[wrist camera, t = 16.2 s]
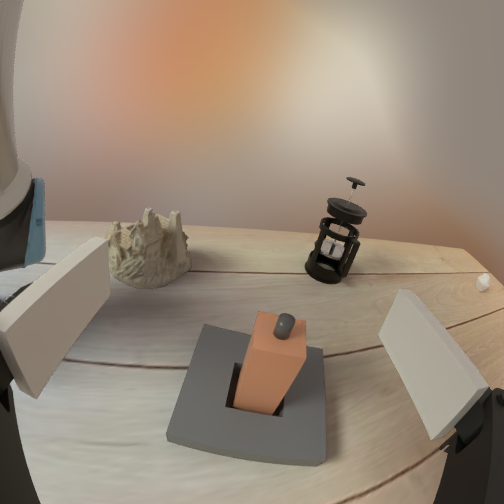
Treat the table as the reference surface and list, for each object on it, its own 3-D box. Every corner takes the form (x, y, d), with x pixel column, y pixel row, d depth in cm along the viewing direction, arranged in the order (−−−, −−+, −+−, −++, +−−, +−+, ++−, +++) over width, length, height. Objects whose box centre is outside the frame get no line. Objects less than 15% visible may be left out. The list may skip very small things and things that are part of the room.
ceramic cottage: (202, 268, 55) (205, 197, 48) (133, 302, 44) (121, 222, 36) (160, 239, 63) (158, 178, 55) (99, 263, 52) (88, 196, 44)
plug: (231, 411, 30) (257, 333, 22) (237, 381, 35) (262, 296, 26) (269, 418, 30) (314, 344, 22) (272, 388, 35) (311, 307, 26)
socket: (167, 441, 25) (165, 433, 23) (203, 336, 40) (204, 323, 39) (316, 466, 25) (326, 460, 23) (315, 360, 40) (322, 348, 39)
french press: (296, 259, 65) (324, 167, 54) (326, 258, 69) (355, 173, 57) (321, 291, 56) (360, 189, 45) (353, 286, 60) (391, 194, 48)
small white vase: (476, 283, 76) (485, 268, 73) (486, 293, 72) (495, 278, 68) (470, 285, 74) (480, 269, 71) (481, 295, 70) (490, 279, 66)
